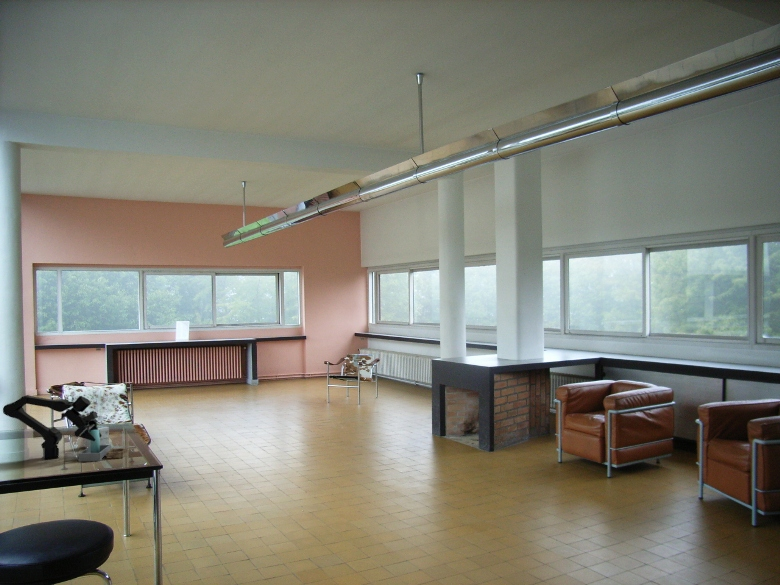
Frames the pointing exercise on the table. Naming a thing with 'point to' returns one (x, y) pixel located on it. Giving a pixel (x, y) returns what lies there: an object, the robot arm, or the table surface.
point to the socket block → (117, 452)
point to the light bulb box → (104, 438)
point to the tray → (89, 456)
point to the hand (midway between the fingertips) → (98, 438)
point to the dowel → (95, 442)
